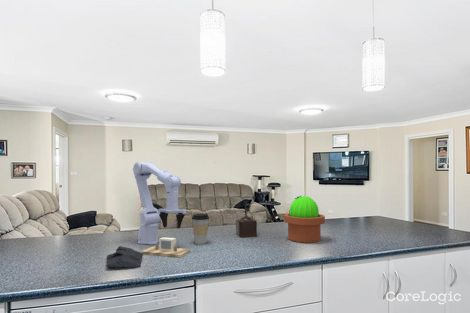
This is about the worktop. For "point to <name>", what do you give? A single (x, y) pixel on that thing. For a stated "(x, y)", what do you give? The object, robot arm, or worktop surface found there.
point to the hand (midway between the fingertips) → (171, 227)
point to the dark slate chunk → (124, 258)
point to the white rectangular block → (167, 244)
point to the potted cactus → (304, 220)
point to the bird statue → (246, 225)
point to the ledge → (166, 252)
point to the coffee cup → (200, 228)
